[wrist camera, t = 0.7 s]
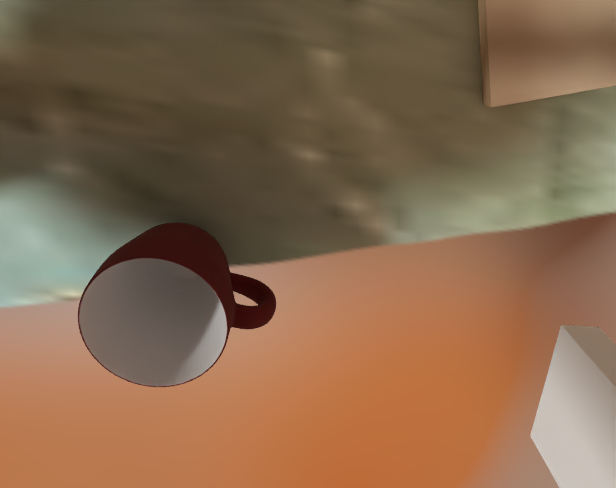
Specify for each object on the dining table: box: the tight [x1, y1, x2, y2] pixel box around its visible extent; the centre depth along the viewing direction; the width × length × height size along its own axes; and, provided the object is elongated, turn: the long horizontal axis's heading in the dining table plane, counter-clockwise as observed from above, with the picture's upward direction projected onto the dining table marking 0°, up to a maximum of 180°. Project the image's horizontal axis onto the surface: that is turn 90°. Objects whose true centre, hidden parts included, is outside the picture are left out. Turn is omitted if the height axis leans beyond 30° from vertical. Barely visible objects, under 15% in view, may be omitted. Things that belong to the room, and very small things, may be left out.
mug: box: [78, 223, 276, 387], centre depth 35 cm, size 10×8×10 cm
